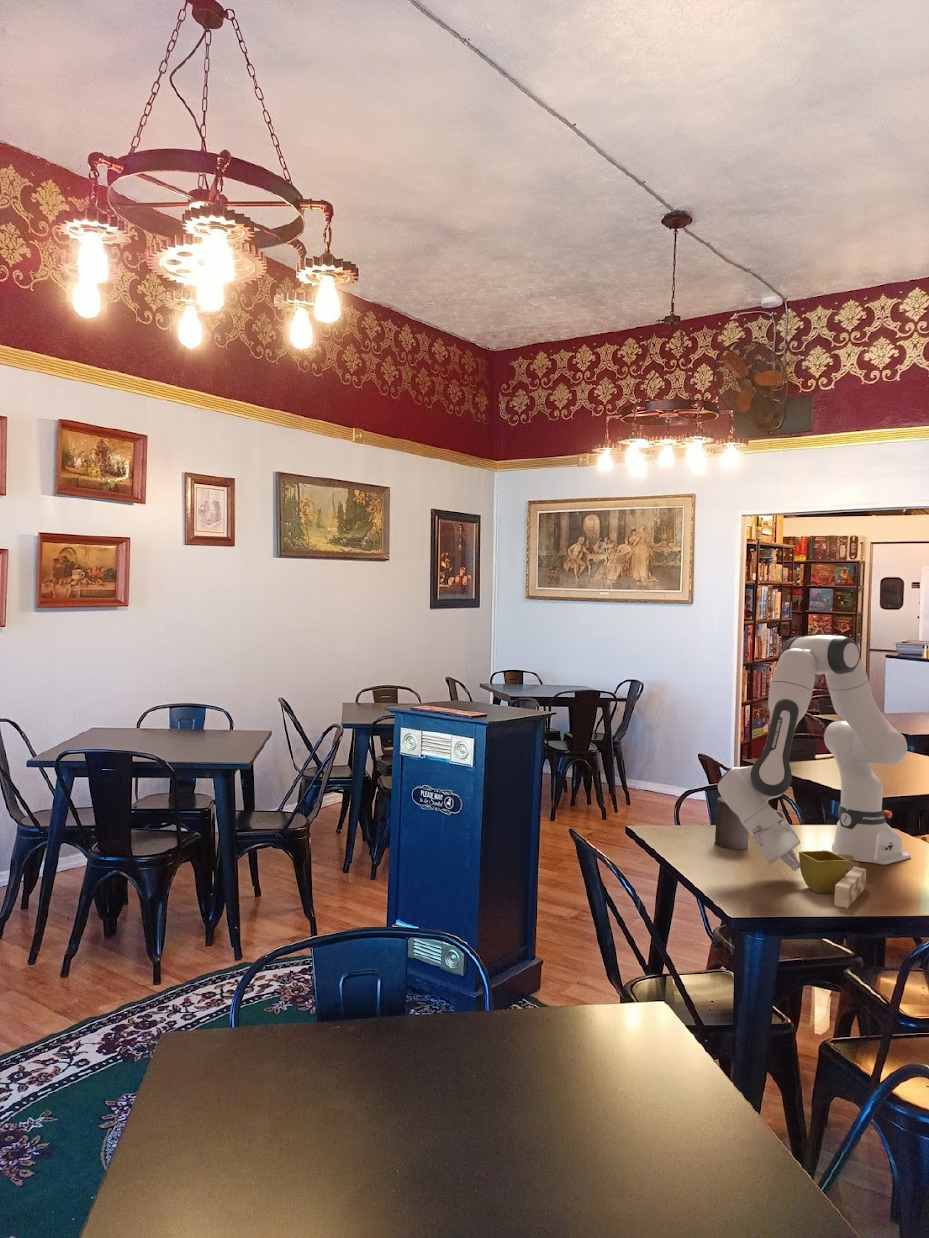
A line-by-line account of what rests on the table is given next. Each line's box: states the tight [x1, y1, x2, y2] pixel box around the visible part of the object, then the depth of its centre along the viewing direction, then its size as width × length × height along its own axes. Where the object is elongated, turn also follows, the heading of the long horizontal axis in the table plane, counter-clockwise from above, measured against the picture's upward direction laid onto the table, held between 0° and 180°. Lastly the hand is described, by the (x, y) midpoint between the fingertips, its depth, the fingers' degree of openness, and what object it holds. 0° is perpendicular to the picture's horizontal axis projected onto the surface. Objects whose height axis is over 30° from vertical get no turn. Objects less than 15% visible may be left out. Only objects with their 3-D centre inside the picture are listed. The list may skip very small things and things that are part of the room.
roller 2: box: [846, 861, 860, 873], centre depth 245 cm, size 8×3×3 cm
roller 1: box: [821, 850, 854, 862], centre depth 252 cm, size 8×3×3 cm
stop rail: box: [834, 867, 867, 909], centre depth 223 cm, size 20×3×5 cm, turn 144°
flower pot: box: [798, 850, 848, 894], centre depth 227 cm, size 9×9×9 cm
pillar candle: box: [714, 796, 750, 850], centre depth 266 cm, size 10×10×15 cm
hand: (798, 868), depth 230 cm, fingers closed, pressing on flower pot
